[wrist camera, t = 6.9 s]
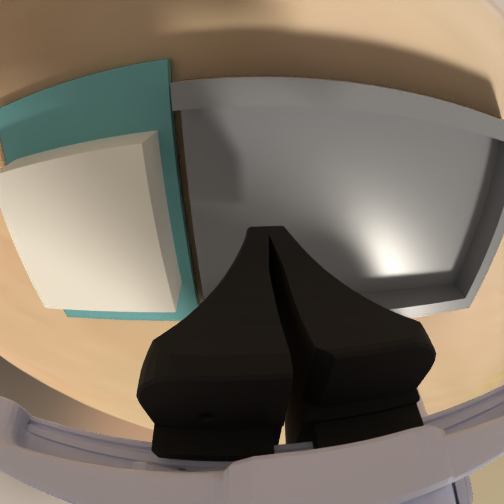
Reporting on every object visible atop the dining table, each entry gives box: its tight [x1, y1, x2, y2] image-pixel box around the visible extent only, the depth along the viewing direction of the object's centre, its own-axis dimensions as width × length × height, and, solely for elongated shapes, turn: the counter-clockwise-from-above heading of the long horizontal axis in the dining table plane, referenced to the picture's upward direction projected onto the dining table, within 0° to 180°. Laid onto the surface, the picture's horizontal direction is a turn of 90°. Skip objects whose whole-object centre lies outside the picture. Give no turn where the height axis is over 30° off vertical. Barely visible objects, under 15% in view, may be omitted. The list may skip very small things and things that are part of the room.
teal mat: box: [0, 59, 200, 321], centre depth 13 cm, size 14×10×1 cm
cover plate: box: [0, 130, 182, 312], centre depth 12 cm, size 8×8×2 cm
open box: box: [170, 76, 504, 318], centre depth 13 cm, size 12×17×2 cm
